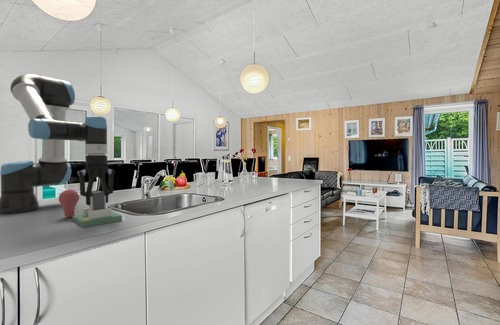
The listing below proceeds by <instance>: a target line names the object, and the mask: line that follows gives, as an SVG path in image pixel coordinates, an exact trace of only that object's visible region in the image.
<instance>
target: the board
mask: <svg viewBox="0 0 500 325" xmlns="http://www.w3.org/2000/svg"><path fill="white" fill-rule="evenodd" d="M82 212H83V213H82V214H76V215H75V214H74V216H72V221H73V222H74V223H75V224H77V225H79V227H81V228H87V227H93V226H100V225H104V224H105V225H106V224H110V223H116V222H122V221H123V216H122V215H121V214H120V213H118V212H115V211H112V208H111V207H109V208H108V207H107V208H106V209H101V210H93V211H89V207H84V208H82Z"/></svg>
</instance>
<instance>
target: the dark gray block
mask: <svg viewBox="0 0 500 325" xmlns="http://www.w3.org/2000/svg"><path fill="white" fill-rule="evenodd" d="M91 197H93V210H101V209H105V203H104V192H103V190H102V191H101V190H97V191H92V192H91Z"/></svg>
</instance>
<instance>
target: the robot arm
mask: <svg viewBox="0 0 500 325" xmlns="http://www.w3.org/2000/svg"><path fill="white" fill-rule="evenodd" d="M10 92H11V95H12V96H13V97H14V99H16V100H17V101H18V102H19V103H20V104H21V106H22V108H23V109H24V111H25V113H26V115H27V116H28V118H29V121H28V125H27V129H28V130H27V131H28V135H29V137H30V138H32V139H40V140H42V156H41V157H40V158H39V159H38V162H34V161H33V160H24V161H23V160H21V161H19V160H18V161H12V162H6V163H3V164H2V165H1V166H0V214H17V213H18V214H19V213H25V212H26V213H27V212H31V211H34V210H35V211H37V210H38V209H39V208H40V203H39V201H38V198H37V196H36V194H35V187H47V186H48V187H49V186H58V185H59V186H61V185H65V184H67V183H68V182H69V181H70V178H71V175H72V166H71V164H70V162H68V159H66V158H65V157H64V154H65V153H64V152H65V151H64V150H65V141H78V142H84V143H85V154H87V155H86V156H85V166H84V169H82V170H77V173H76V174H77V176H78V180H79V194H80V195H79V196H82V197H85V204H86V206H88V208H89V211H93V197H91V192H93V187H94V183H95V180H96V178H99V181H100V185H101V189H102V191H103V192H104V203H105V209H107V203H109V196H110V194H113V193H114V176H115V173H116V170H114V169H111V168H109V166H108V155H107V154H108V125H107V119H106V118H105V117H104V116H96V115H88V116H85V118H84V122H75V121H66V114H67V113H66V112H67V111H68V110H69V109H70V106H72V105H74V103H75V100H76V93H75V90H74V86H73V85H72V83H70V82H69V81H67V80H62V79H57V78H55V77H54V78H53V77H49V76H43V75H38V74H33V73H29V74H26V73H25V74H22V75H19V76H17V77H16V78H14V79H13V80H12V82H11V83H10ZM86 174H87V175H88V182H87V187H86V182H85V179H86V178H85V176H86ZM106 174H108V178H107V179H108V181H107V180H106V176H105V175H106ZM106 181H107V182H108V183H107V182H106Z"/></svg>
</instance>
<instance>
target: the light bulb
mask: <svg viewBox="0 0 500 325" xmlns="http://www.w3.org/2000/svg"><path fill="white" fill-rule="evenodd" d="M79 194H80V193H78V192H77V191H76V190H74V189H65V190H64V191H62V192H60V193H59V196H58V201H59V203H60V205H61V206H62V208H63V213H64V215H63V216H64V218H73V216H74V215H75V214H76V211H75V210H76V206H77V205H78V202H79V200H80V195H79Z"/></svg>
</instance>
